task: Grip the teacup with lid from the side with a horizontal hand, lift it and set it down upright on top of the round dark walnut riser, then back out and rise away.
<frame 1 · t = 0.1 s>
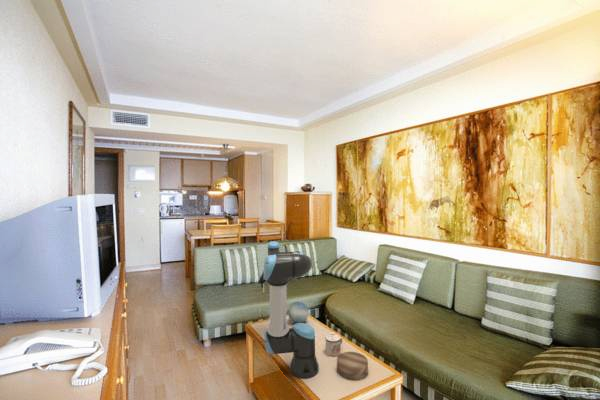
hand: (273, 290, 199), 28 cm above the table, tool tilted 20°, fingers open, 13 cm apart
decorative ball: (298, 323, 211), on the table
teacup with lid: (334, 352, 171), on the table
walnut riser: (352, 371, 152), on the table
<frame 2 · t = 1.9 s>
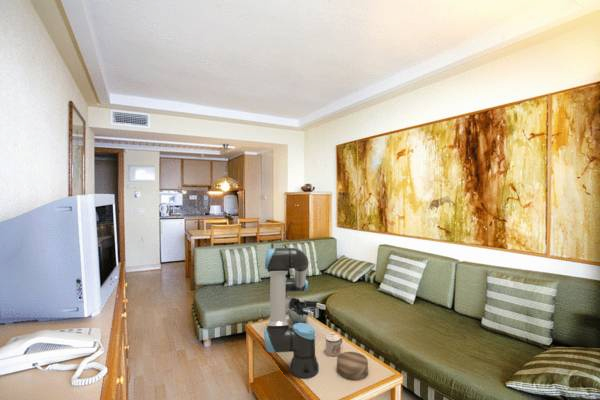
hand: (319, 310, 177), 22 cm above the table, tool horizontal, fingers open, 13 cm apart
nothing on the table moved.
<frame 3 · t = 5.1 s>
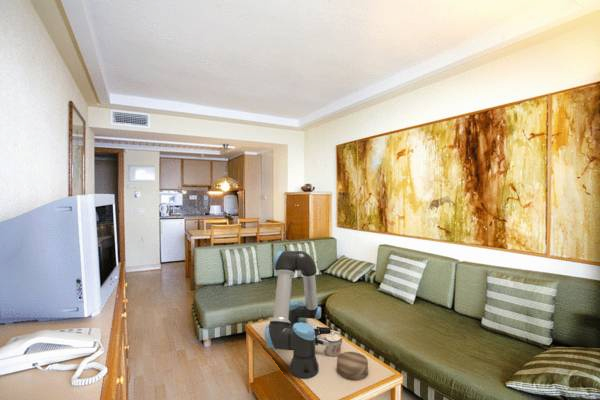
hand: (334, 339, 171), 7 cm above the table, tool horizontal, fingers open, 13 cm apart
nothing on the table moved.
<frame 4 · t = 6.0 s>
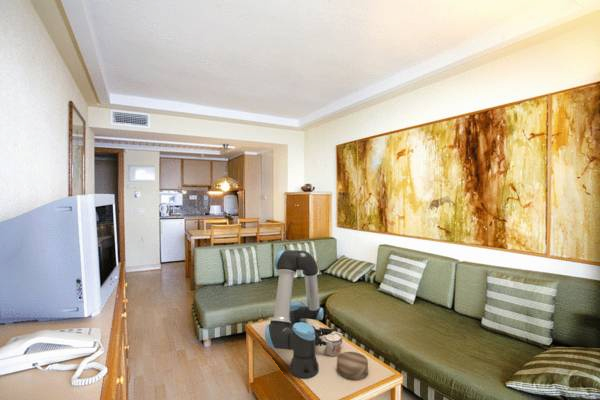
hand: (337, 340, 170), 7 cm above the table, tool horizontal, fingers closed on teacup with lid, 12 cm apart
teacup with lid: (334, 352, 171), on the table, touching gripper
everything else where it was.
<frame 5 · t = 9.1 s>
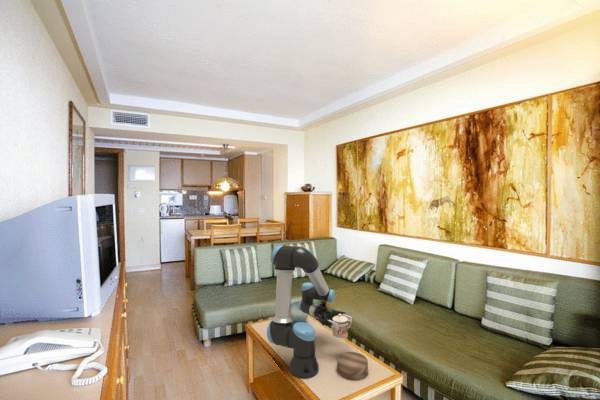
hand: (344, 322, 164), 20 cm above the table, tool horizontal, fingers closed on teacup with lid, 12 cm apart
teacup with lid: (342, 334, 165), point 13 cm above the table, touching gripper
everything else where it was.
when the fingers open (14 cm above the table, at t = 12.2 s): teacup with lid drops 2 cm, resting on walnut riser.
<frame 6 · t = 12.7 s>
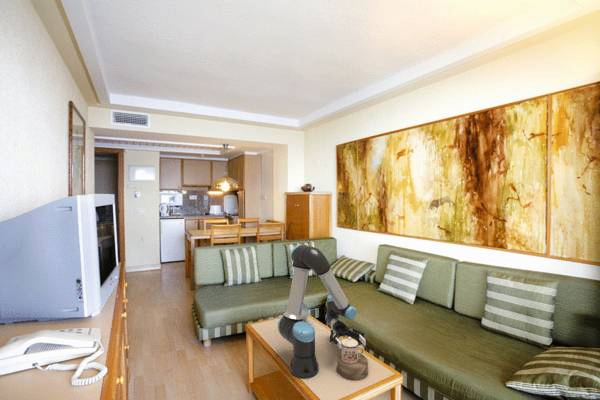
hand: (353, 344, 150), 14 cm above the table, tool horizontal, fingers open, 13 cm apart
teacup with lid: (352, 360, 152), point 6 cm above the table, touching walnut riser
walnut riser: (352, 371, 152), on the table, touching teacup with lid
everything else where it was.
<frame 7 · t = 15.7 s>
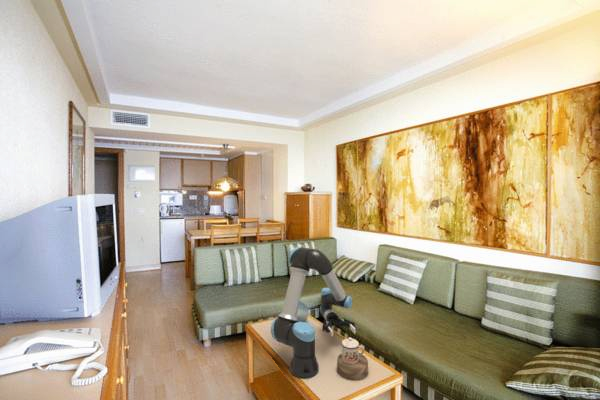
hand: (343, 332, 163), 15 cm above the table, tool horizontal, fingers open, 13 cm apart
nothing on the table moved.
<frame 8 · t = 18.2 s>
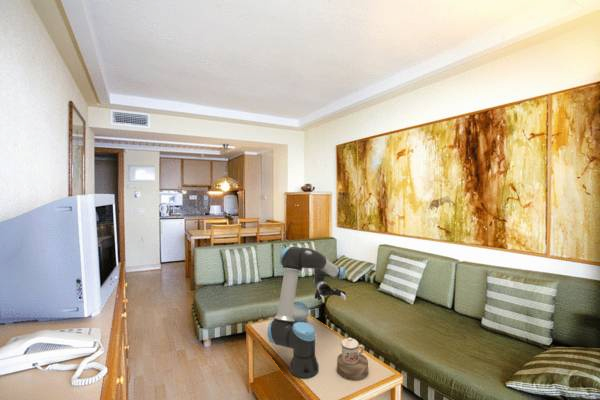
hand: (334, 299, 174), 30 cm above the table, tool horizontal, fingers open, 13 cm apart
nothing on the table moved.
at the end: teacup with lid inside the target area on the walnut riser (0.3 cm from its centre), point 6.1 cm above the walnut riser's base; teacup with lid tilted 4°; the gripper is holding nothing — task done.
